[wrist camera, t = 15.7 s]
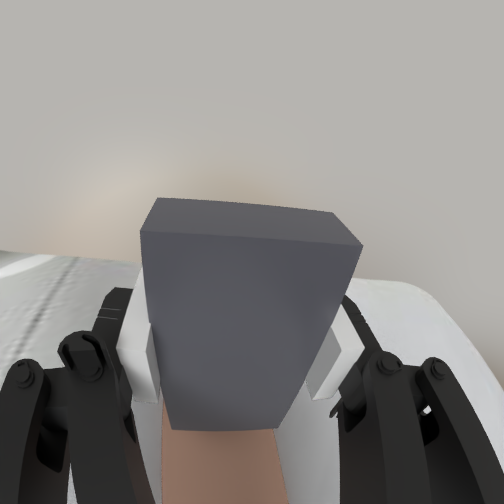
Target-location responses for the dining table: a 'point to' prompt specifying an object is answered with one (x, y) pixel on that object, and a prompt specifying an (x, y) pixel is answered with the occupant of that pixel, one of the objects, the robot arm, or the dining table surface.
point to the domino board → (220, 467)
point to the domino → (240, 305)
